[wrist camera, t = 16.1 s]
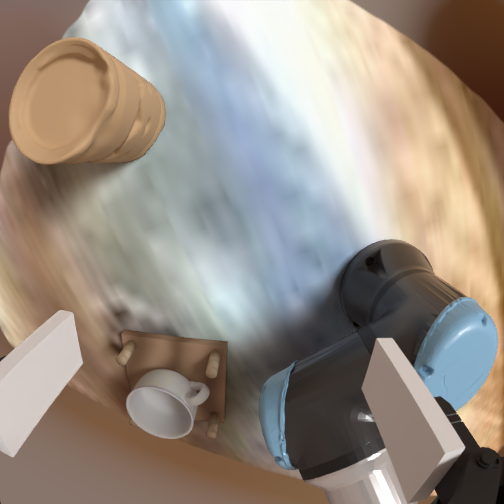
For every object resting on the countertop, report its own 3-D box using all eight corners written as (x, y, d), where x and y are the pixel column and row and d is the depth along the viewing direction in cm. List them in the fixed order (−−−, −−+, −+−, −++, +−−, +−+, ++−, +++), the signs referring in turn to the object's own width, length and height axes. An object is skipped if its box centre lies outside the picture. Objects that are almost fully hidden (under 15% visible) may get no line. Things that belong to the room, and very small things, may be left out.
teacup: (157, 411, 50) (146, 441, 43) (128, 365, 48) (112, 394, 40) (228, 398, 49) (224, 432, 41) (203, 348, 46) (194, 380, 39)
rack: (227, 341, 48) (223, 365, 41) (224, 417, 52) (221, 442, 46) (124, 329, 48) (109, 349, 41) (136, 404, 52) (125, 427, 46)
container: (179, 88, 38) (132, 43, 21) (148, 173, 41) (82, 180, 24) (105, 71, 37) (35, 35, 20) (77, 150, 40) (-4, 149, 23)
